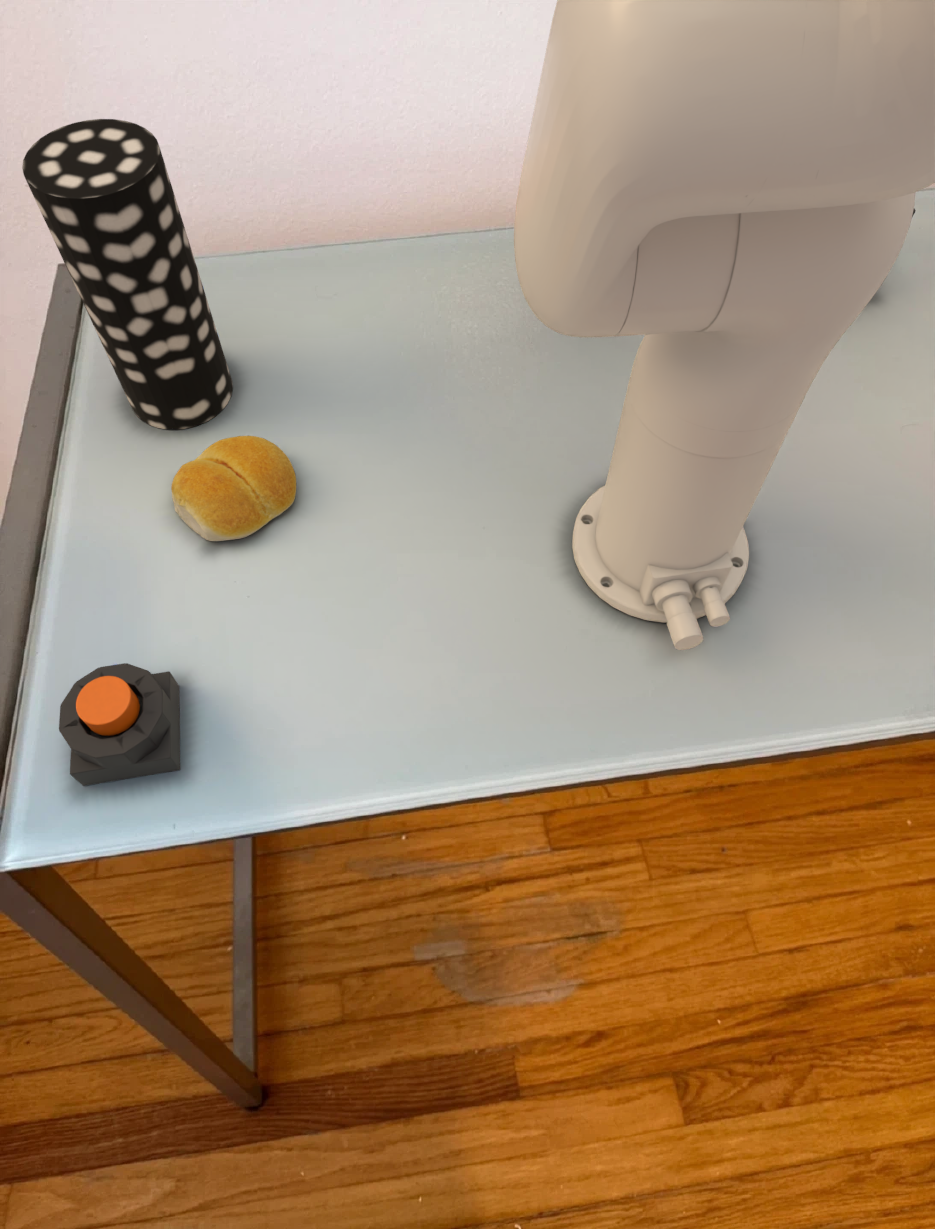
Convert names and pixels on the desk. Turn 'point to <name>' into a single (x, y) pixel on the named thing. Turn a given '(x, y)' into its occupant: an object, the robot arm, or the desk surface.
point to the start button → (107, 705)
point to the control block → (135, 749)
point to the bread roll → (234, 488)
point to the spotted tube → (132, 266)
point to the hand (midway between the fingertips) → (603, 232)
